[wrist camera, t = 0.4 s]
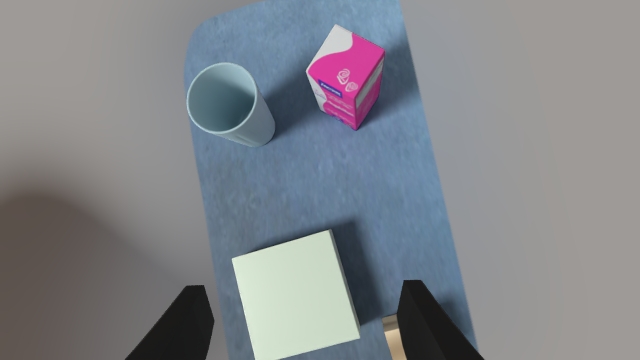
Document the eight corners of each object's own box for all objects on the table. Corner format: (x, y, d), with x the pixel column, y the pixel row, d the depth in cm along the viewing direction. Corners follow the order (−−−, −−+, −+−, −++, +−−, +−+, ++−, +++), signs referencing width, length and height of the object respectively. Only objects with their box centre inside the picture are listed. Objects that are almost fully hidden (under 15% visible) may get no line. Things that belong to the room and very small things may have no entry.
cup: (250, 90, 41) (214, 49, 31) (294, 118, 40) (271, 85, 30) (219, 135, 41) (172, 108, 31) (262, 165, 40) (228, 147, 29)
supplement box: (319, 112, 40) (302, 69, 28) (343, 75, 40) (336, 19, 28) (355, 133, 38) (354, 98, 27) (380, 96, 39) (388, 46, 27)
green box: (359, 324, 36) (360, 338, 32) (267, 349, 37) (256, 364, 33) (331, 228, 38) (328, 229, 34) (244, 254, 39) (231, 258, 35)
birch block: (431, 347, 34) (441, 366, 30) (393, 357, 35) (398, 377, 30) (418, 308, 35) (426, 321, 30) (381, 317, 35) (384, 332, 31)
